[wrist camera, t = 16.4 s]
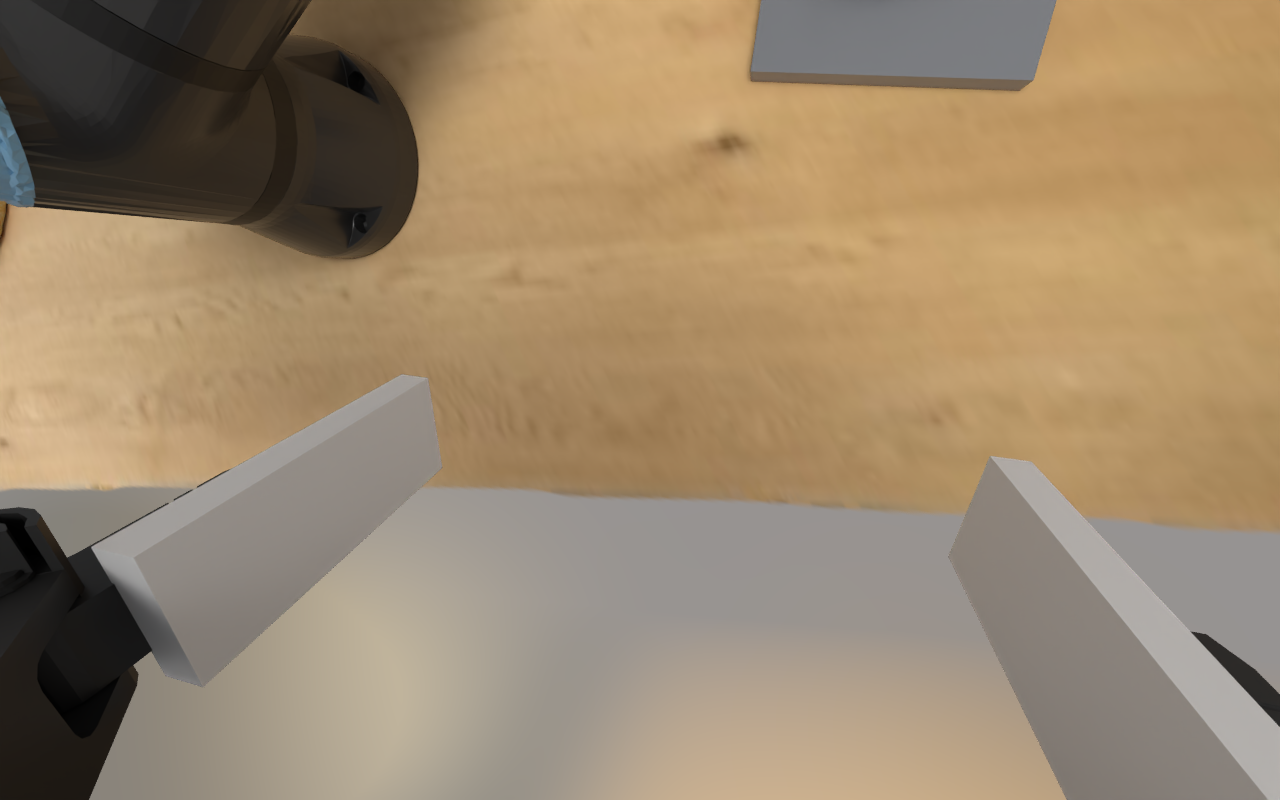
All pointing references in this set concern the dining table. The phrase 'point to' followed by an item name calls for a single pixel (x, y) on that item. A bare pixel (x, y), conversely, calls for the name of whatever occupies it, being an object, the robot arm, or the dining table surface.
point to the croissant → (2, 214)
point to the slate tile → (901, 42)
